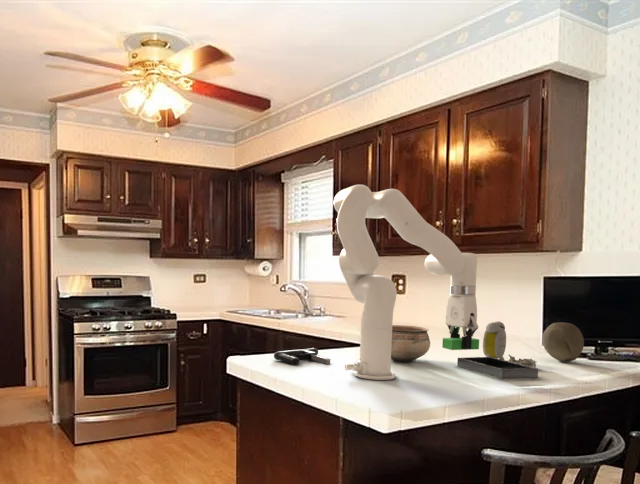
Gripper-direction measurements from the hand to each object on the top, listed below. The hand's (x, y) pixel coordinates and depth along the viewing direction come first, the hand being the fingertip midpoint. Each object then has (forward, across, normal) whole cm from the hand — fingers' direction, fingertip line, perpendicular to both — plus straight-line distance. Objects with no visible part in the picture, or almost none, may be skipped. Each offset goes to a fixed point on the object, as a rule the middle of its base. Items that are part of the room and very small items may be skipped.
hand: (460, 346), depth 174 cm
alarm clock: (+10, -20, +31) cm, 38 cm away
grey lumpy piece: (+10, -7, +31) cm, 33 cm away
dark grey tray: (+9, -1, +15) cm, 17 cm away
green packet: (+1, 0, 0) cm, 1 cm away
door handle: (+9, -30, -41) cm, 52 cm away
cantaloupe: (+10, -18, +59) cm, 62 cm away
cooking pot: (+9, -27, -4) cm, 29 cm away
